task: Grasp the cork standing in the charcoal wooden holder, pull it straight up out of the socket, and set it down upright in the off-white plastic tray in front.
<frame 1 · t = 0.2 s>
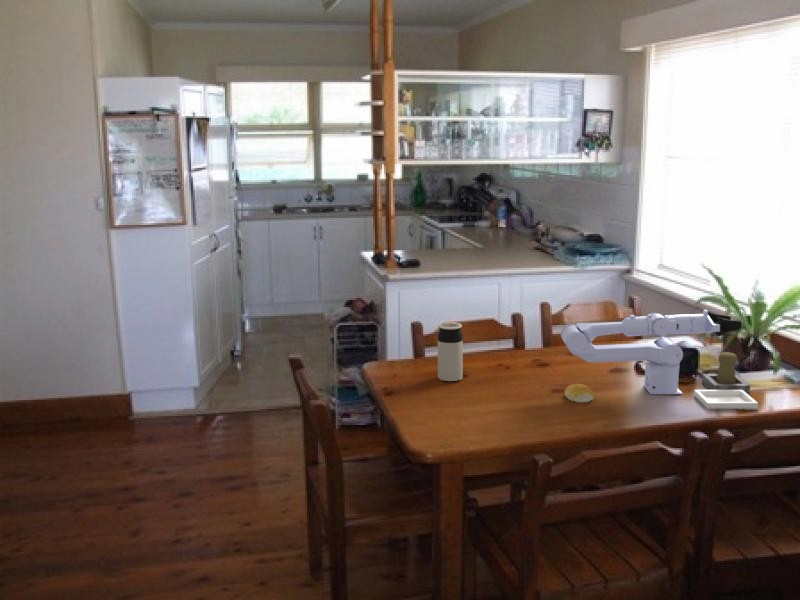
hand: (735, 322, 223), 21 cm above the table, tool horizontal, fingers open, 7 cm apart
bread roll: (579, 398, 224), on the table
tray: (724, 402, 218), on the table
holder: (725, 387, 230), on the table
cork: (725, 388, 230), resting in holder
travel mug: (450, 379, 242), on the table
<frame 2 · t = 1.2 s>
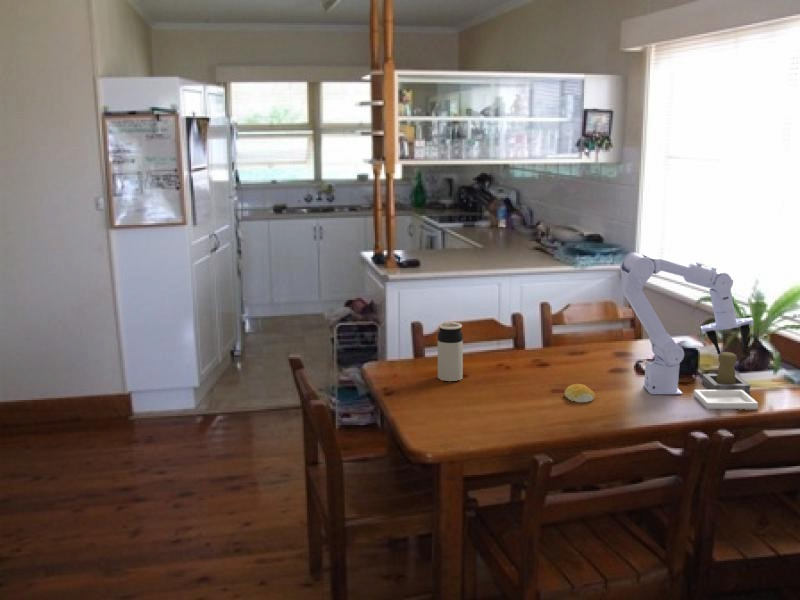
hand: (731, 351, 227), 12 cm above the table, tool tilted 15°, fingers open, 7 cm apart
cork: (725, 387, 230), resting in holder, touching gripper
everything else where it was.
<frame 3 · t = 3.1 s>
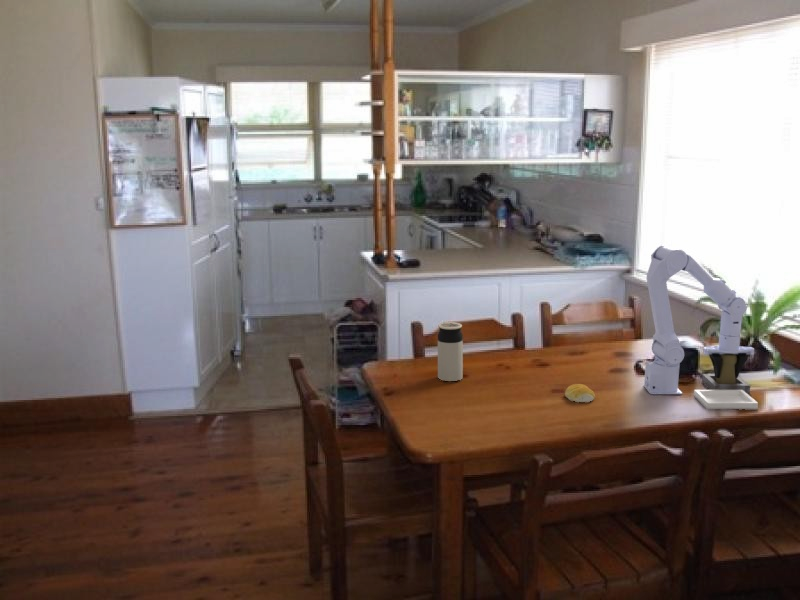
hand: (726, 376, 229), 3 cm above the table, tool pointing down, fingers closed on cork, 5 cm apart
cork: (725, 388, 230), resting in holder, touching gripper
everything else where it was.
when the fingers open (5 cm above the table, at t = 7.7 s): cork stays where it is, resting on tray.
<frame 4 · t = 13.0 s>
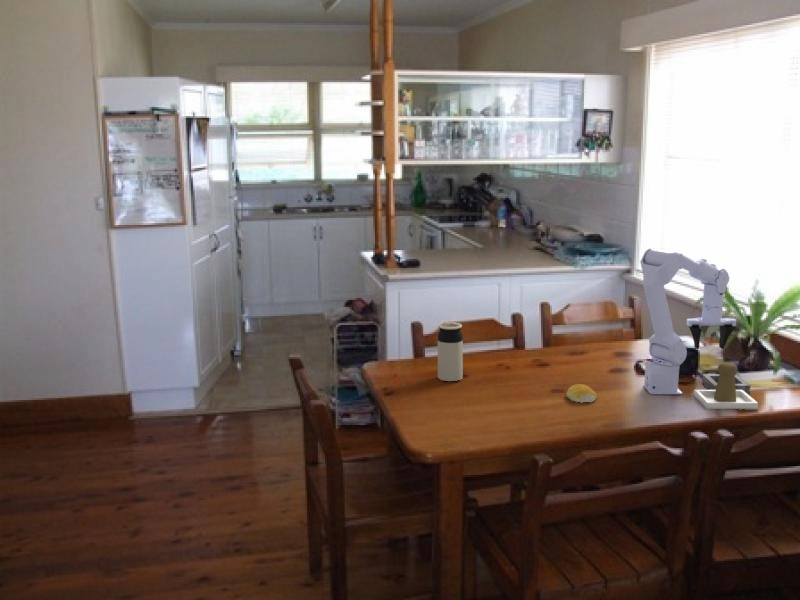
hand: (709, 347, 235), 10 cm above the table, tool pointing down, fingers open, 7 cm apart
cork: (724, 400, 219), resting on tray
everything else where it was.
at the end: cork inside the target area on the tray (1.3 cm from its centre), point 0.3 cm above the tray's base; cork tilted 0°; the gripper is holding nothing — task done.
